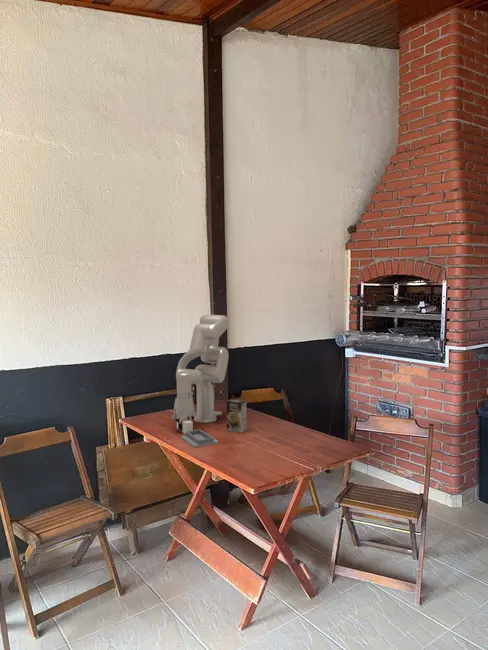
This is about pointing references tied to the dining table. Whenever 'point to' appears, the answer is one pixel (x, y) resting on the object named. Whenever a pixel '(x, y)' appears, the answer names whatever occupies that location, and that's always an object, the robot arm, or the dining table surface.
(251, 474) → the dining table surface
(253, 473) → the dining table surface
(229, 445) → the dining table surface
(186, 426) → the long beige rectangular prism
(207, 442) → the cradle
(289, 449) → the dining table surface
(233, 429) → the coffee box
